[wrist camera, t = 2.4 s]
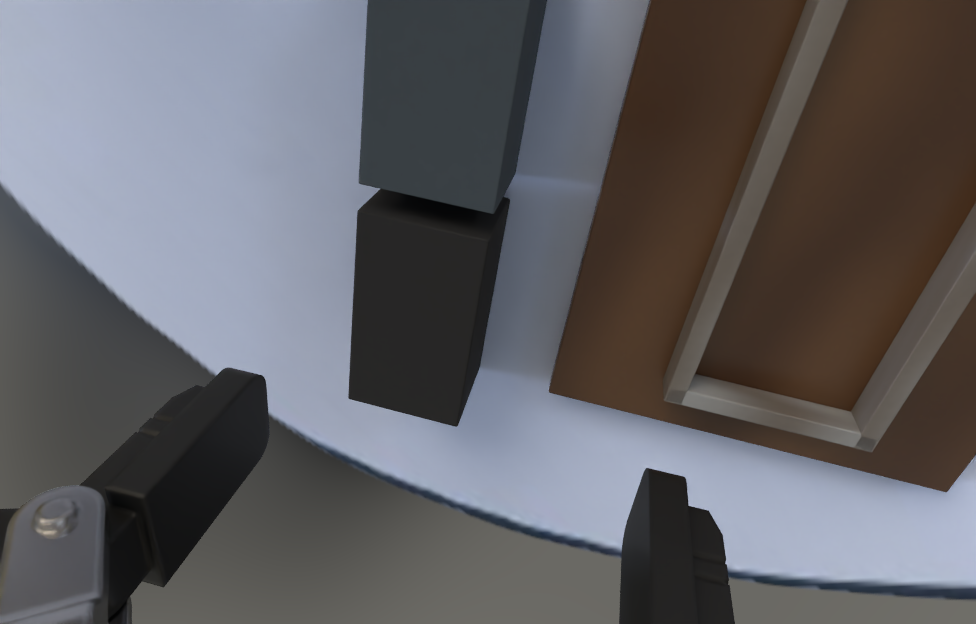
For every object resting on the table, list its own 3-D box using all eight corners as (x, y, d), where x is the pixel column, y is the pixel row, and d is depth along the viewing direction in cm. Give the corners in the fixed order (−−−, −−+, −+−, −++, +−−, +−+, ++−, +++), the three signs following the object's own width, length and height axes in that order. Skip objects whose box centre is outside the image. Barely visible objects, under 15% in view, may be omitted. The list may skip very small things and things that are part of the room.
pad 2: (382, 344, 32) (347, 399, 28) (396, 172, 27) (356, 210, 23) (479, 368, 31) (457, 427, 27) (510, 197, 26) (489, 240, 23)
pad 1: (398, 149, 26) (358, 184, 23) (419, -107, 22) (372, -118, 18) (515, 174, 26) (494, 215, 22) (561, -81, 21) (545, -86, 17)
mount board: (551, 378, 31) (544, 413, 28) (749, -382, 17) (767, -433, 15) (936, 474, 29) (962, 519, 27) (1496, -284, 15) (1646, -323, 13)
